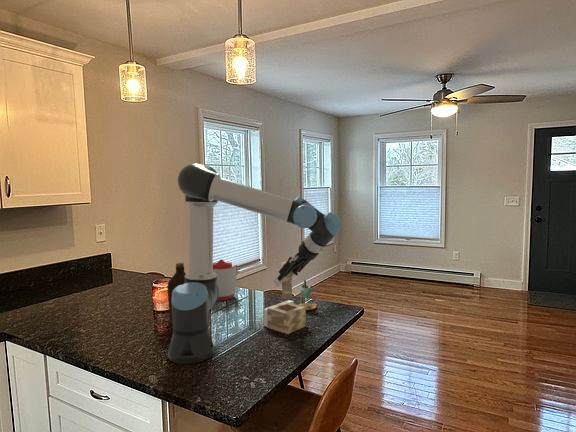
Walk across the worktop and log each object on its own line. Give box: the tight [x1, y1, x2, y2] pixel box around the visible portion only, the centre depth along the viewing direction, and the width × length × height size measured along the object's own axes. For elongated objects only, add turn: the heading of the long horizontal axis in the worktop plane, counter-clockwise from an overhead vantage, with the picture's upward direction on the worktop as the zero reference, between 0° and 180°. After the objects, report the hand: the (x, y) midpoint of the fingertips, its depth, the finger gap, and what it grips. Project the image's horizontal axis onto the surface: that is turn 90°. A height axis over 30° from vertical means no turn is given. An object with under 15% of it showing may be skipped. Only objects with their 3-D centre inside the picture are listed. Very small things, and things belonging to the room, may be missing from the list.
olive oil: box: [166, 262, 187, 326], centre depth 162 cm, size 11×11×25 cm
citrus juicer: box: [213, 259, 240, 302], centre depth 197 cm, size 16×17×20 cm
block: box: [266, 301, 307, 335], centre depth 156 cm, size 11×11×8 cm
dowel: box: [281, 261, 293, 300], centre depth 155 cm, size 4×4×14 cm
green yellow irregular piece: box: [295, 279, 318, 311], centre depth 179 cm, size 10×18×15 cm, turn 138°
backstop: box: [263, 299, 295, 328], centre depth 163 cm, size 16×2×7 cm, turn 139°
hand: (280, 282), depth 157 cm, fingers closed on dowel, 4 cm apart
